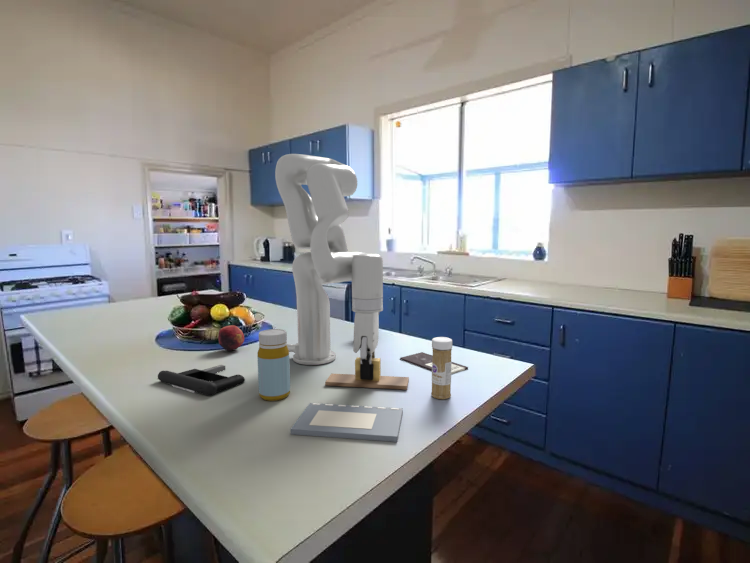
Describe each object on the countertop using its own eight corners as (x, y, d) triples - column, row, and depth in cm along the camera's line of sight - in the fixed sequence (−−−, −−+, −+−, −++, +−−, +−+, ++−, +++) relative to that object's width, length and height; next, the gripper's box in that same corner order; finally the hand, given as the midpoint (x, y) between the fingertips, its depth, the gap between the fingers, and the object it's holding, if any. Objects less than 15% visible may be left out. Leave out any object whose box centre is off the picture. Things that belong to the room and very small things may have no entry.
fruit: (248, 347, 135) (247, 323, 134) (238, 354, 127) (237, 329, 126) (225, 346, 136) (224, 323, 135) (214, 353, 128) (212, 328, 127)
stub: (325, 385, 100) (324, 361, 100) (331, 376, 106) (331, 354, 106) (407, 389, 97) (407, 365, 97) (408, 380, 103) (408, 357, 103)
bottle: (274, 404, 90) (272, 337, 88) (252, 397, 94) (249, 333, 92) (296, 393, 96) (294, 330, 94) (275, 387, 100) (272, 327, 98)
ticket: (290, 434, 77) (290, 428, 76) (310, 407, 88) (309, 402, 88) (397, 441, 74) (397, 436, 74) (402, 412, 85) (402, 407, 85)
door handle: (207, 358, 116) (152, 372, 102) (258, 370, 106) (205, 387, 93) (207, 370, 117) (152, 385, 103) (258, 382, 107) (205, 401, 93)
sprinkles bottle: (427, 396, 94) (427, 338, 93) (439, 390, 97) (440, 335, 96) (443, 401, 91) (444, 342, 89) (455, 396, 94) (456, 338, 92)
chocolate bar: (422, 352, 127) (468, 367, 113) (422, 355, 127) (467, 370, 113) (400, 357, 121) (445, 374, 107) (400, 360, 121) (445, 377, 107)
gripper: (358, 298, 109) (359, 366, 111) (345, 310, 93) (346, 388, 95) (386, 299, 107) (386, 367, 110) (378, 311, 92) (378, 390, 94)
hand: (367, 376), depth 102 cm, fingers closed on stub, 2 cm apart
